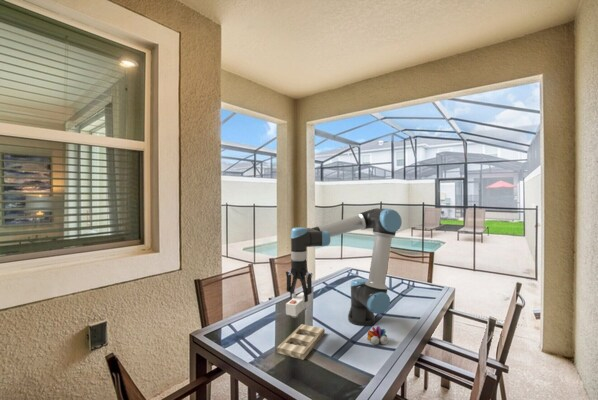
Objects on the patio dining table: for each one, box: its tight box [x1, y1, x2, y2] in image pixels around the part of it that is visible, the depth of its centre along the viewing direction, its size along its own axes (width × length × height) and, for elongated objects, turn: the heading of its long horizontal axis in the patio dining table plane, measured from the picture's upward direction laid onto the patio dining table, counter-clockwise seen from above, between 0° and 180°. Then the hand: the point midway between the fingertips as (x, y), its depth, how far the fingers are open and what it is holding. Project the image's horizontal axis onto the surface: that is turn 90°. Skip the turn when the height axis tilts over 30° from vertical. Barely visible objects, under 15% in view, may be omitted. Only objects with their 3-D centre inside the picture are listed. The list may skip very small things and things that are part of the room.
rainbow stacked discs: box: [367, 325, 389, 346], centre depth 136 cm, size 8×10×7 cm
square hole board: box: [276, 323, 326, 360], centre depth 135 cm, size 13×26×2 cm, turn 154°
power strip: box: [285, 291, 312, 319], centre depth 135 cm, size 5×18×8 cm, turn 155°
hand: (299, 307), depth 135 cm, fingers closed on power strip, 5 cm apart
